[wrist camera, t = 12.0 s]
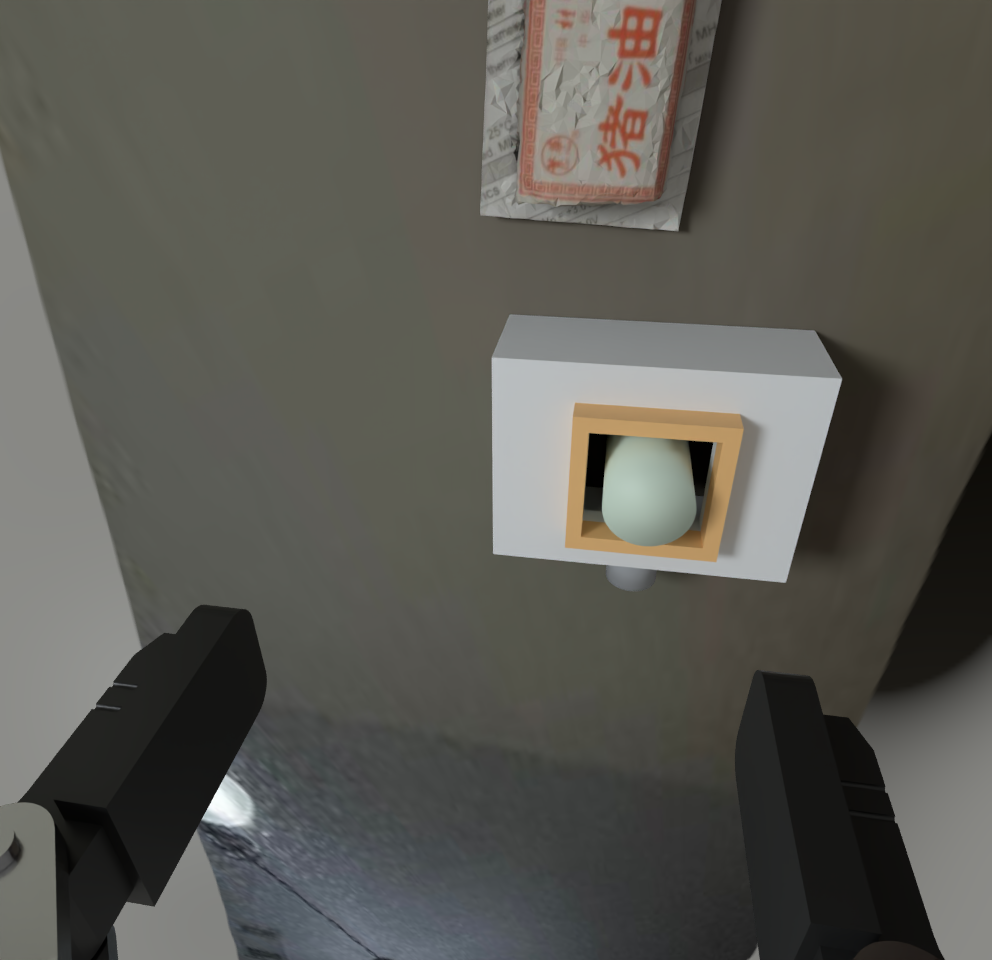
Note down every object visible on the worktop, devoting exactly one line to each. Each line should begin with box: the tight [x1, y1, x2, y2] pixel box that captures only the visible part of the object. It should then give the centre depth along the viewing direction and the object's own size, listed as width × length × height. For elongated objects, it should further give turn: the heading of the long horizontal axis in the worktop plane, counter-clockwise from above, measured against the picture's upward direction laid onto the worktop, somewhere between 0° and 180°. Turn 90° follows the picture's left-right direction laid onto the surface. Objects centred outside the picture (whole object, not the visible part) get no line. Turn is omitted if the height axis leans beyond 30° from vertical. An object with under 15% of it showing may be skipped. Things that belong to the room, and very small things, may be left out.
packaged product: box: [480, 0, 722, 231], centre depth 30 cm, size 18×5×10 cm
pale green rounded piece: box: [602, 434, 697, 546], centre depth 38 cm, size 4×4×9 cm
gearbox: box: [492, 314, 842, 591], centre depth 40 cm, size 15×16×8 cm
